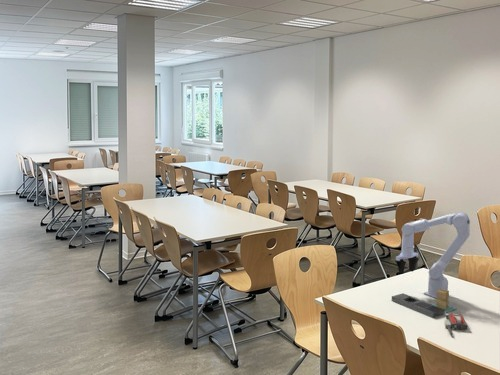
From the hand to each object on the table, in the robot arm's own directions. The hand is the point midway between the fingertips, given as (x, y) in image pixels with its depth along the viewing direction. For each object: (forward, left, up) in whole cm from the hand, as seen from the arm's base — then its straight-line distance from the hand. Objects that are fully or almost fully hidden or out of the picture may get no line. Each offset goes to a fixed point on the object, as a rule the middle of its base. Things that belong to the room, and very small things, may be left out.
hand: (406, 272), depth 251 cm
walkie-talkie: (+18, +43, -10) cm, 47 cm away
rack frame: (+14, +19, -9) cm, 25 cm away
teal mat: (+5, +26, -9) cm, 28 cm away
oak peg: (+5, +26, -9) cm, 28 cm away
